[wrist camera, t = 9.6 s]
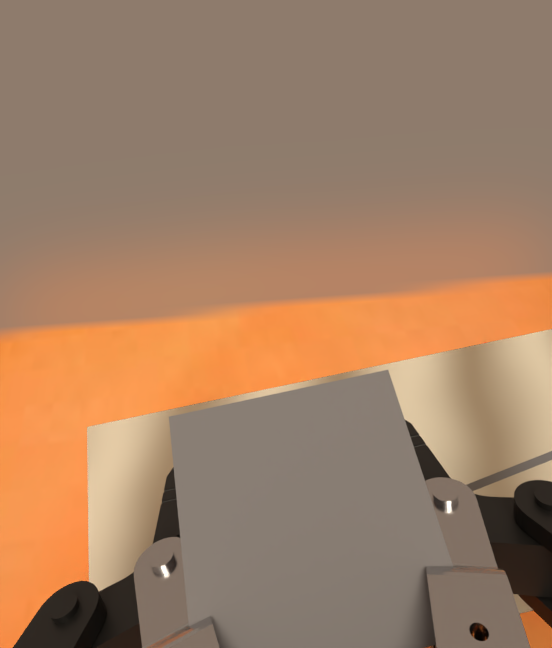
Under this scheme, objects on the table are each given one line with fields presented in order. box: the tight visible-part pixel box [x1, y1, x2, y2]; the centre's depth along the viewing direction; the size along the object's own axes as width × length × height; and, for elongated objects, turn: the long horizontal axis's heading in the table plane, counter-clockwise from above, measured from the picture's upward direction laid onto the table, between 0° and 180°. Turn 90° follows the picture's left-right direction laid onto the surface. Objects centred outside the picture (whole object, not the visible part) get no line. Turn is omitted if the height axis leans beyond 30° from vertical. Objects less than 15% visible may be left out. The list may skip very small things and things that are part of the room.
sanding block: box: [169, 370, 453, 648], centre depth 12 cm, size 5×5×10 cm
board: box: [87, 329, 552, 614], centre depth 18 cm, size 22×10×2 cm, turn 101°
